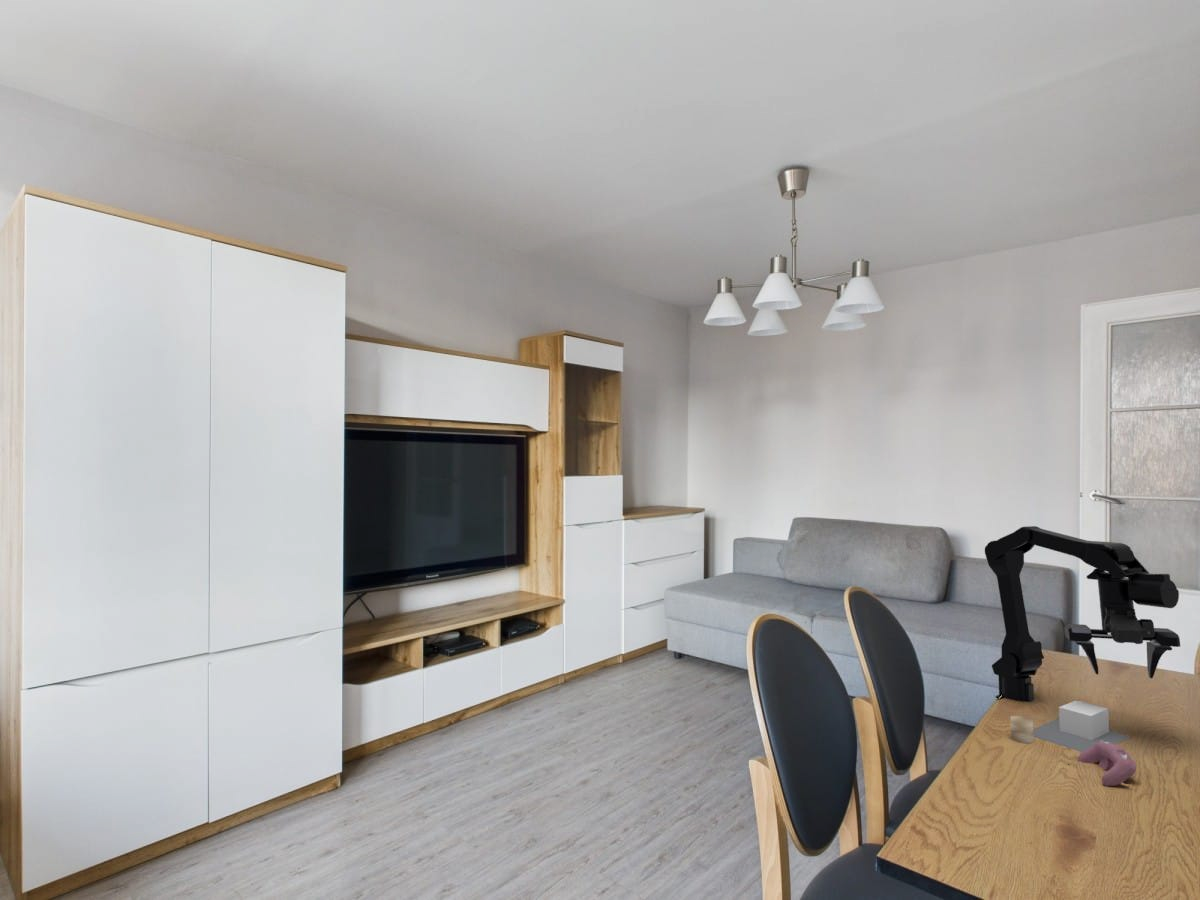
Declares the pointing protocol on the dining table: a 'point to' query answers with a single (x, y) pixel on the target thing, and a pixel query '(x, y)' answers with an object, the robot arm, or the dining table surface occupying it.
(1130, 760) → the video game controller
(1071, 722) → the white rectangular block
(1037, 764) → the dining table surface
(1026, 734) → the beige cylinder
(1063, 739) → the board
